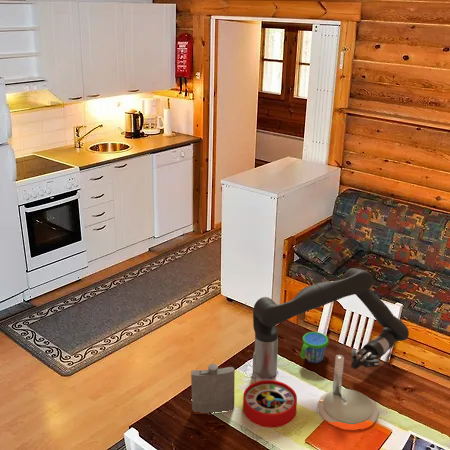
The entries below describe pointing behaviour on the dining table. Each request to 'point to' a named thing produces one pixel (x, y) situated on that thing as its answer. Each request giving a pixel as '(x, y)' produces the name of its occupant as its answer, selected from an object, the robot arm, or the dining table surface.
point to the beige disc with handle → (346, 400)
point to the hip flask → (213, 389)
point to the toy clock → (269, 403)
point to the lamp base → (328, 418)
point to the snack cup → (314, 346)
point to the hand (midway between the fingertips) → (353, 366)
